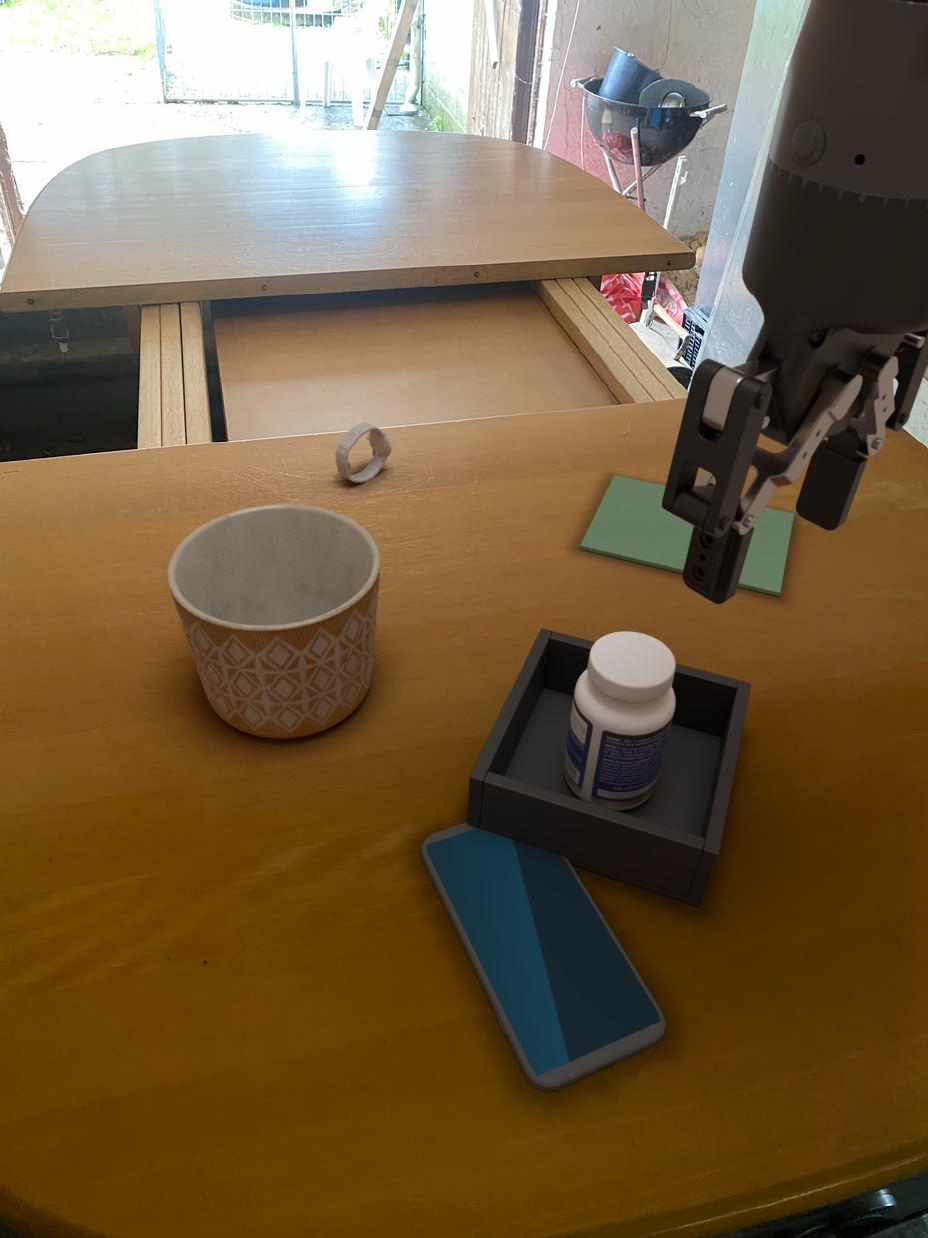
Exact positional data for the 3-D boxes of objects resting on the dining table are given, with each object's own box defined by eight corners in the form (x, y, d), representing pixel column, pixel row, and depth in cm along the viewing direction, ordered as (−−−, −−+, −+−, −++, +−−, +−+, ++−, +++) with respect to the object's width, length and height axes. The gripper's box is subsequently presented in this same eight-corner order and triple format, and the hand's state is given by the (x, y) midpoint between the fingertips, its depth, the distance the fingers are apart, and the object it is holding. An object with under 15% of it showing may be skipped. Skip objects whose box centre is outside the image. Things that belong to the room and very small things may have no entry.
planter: (227, 783, 55) (201, 655, 49) (172, 656, 64) (143, 532, 57) (416, 715, 60) (415, 590, 54) (341, 605, 69) (333, 485, 62)
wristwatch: (393, 472, 83) (392, 423, 80) (353, 494, 80) (350, 443, 77) (371, 461, 85) (369, 412, 82) (330, 482, 82) (327, 431, 79)
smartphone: (532, 809, 55) (533, 799, 55) (673, 1040, 45) (676, 1030, 44) (414, 849, 53) (414, 839, 52) (534, 1103, 42) (536, 1094, 42)
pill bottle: (671, 769, 57) (703, 650, 51) (630, 830, 53) (659, 710, 47) (589, 729, 59) (610, 610, 53) (544, 785, 56) (561, 665, 49)
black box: (734, 735, 60) (752, 682, 57) (700, 907, 50) (718, 854, 47) (535, 680, 63) (541, 627, 60) (466, 830, 53) (469, 776, 50)
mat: (793, 517, 80) (794, 513, 80) (779, 596, 71) (780, 592, 71) (613, 478, 84) (614, 474, 84) (579, 549, 75) (580, 545, 75)
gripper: (881, 225, 24) (740, 670, 35) (1090, 149, 32) (923, 535, 42) (660, 162, 29) (594, 576, 39) (891, 108, 36) (783, 468, 46)
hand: (765, 554), depth 41 cm, fingers open, 8 cm apart
